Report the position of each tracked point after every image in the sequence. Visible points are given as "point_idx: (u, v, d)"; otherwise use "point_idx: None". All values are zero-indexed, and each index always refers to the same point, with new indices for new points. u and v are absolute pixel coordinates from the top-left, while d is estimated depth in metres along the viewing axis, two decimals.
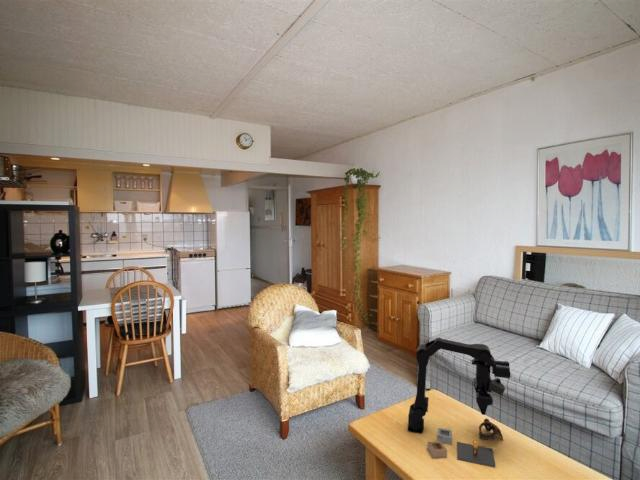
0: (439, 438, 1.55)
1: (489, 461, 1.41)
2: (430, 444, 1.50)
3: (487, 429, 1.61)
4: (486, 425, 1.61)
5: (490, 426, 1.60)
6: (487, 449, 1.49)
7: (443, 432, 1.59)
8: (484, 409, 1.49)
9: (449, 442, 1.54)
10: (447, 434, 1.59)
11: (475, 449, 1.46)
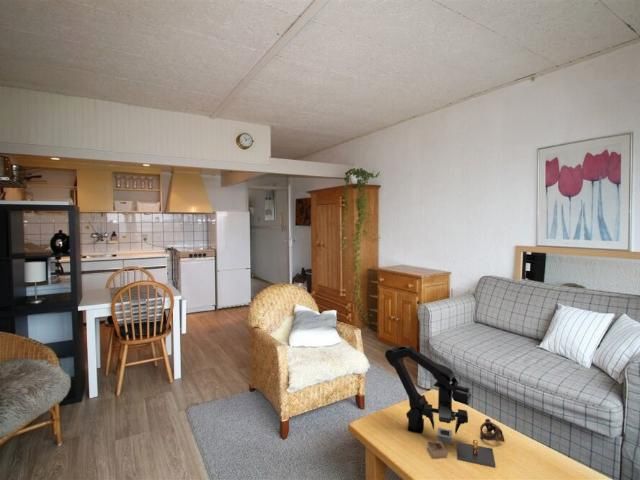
0: (439, 438, 1.55)
1: (489, 461, 1.41)
2: (430, 444, 1.50)
3: (488, 429, 1.61)
4: (487, 425, 1.60)
5: (492, 426, 1.60)
6: (487, 449, 1.49)
7: (443, 432, 1.59)
8: None
9: (449, 442, 1.54)
10: (447, 434, 1.59)
11: (475, 449, 1.46)
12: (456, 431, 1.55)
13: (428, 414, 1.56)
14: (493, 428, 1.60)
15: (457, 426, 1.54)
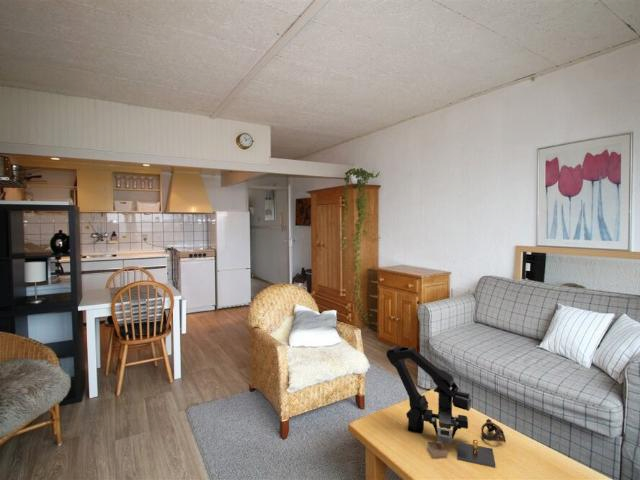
0: (439, 438, 1.55)
1: (489, 461, 1.41)
2: (430, 444, 1.50)
3: (489, 430, 1.61)
4: (488, 426, 1.60)
5: (493, 427, 1.60)
6: (487, 449, 1.49)
7: (443, 432, 1.59)
8: None
9: (449, 442, 1.54)
10: (447, 434, 1.59)
11: (475, 449, 1.46)
12: (453, 436, 1.55)
13: (428, 420, 1.56)
14: (494, 428, 1.60)
15: (454, 431, 1.55)
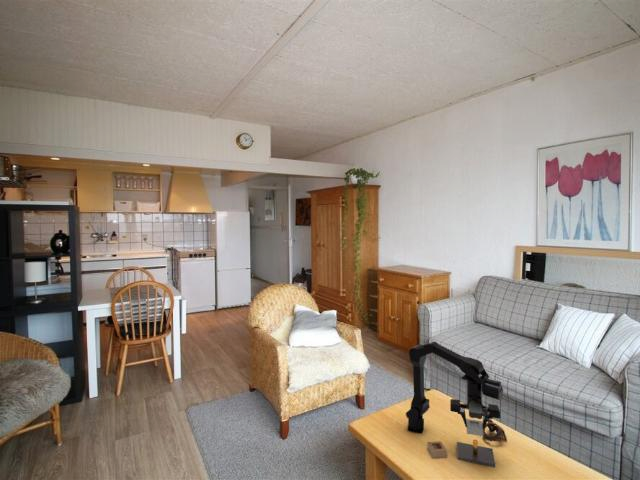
0: (469, 429, 1.44)
1: (489, 461, 1.41)
2: (430, 444, 1.50)
3: (491, 430, 1.61)
4: (490, 426, 1.60)
5: (494, 427, 1.60)
6: (487, 449, 1.49)
7: (472, 423, 1.48)
8: None
9: (480, 433, 1.43)
10: (477, 425, 1.48)
11: (475, 449, 1.46)
12: (483, 427, 1.44)
13: (456, 410, 1.45)
14: (495, 429, 1.60)
15: (484, 422, 1.44)
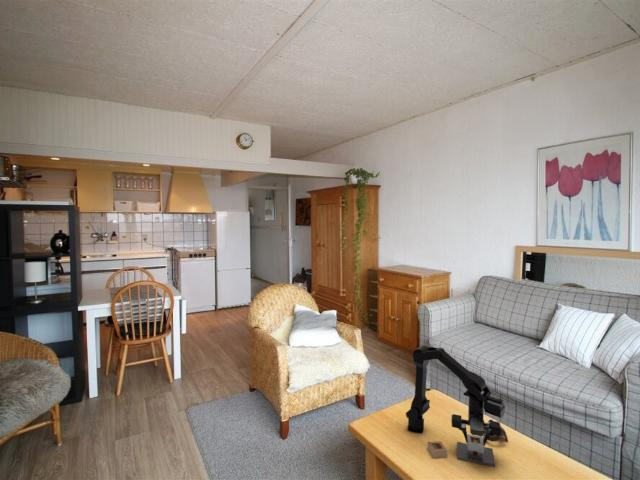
0: (469, 446, 1.44)
1: (489, 461, 1.41)
2: (430, 444, 1.50)
3: None
4: None
5: None
6: (487, 449, 1.49)
7: (473, 438, 1.48)
8: (464, 435, 1.47)
9: (481, 450, 1.43)
10: None
11: None
12: (484, 443, 1.45)
13: (458, 426, 1.45)
14: None
15: (485, 438, 1.44)
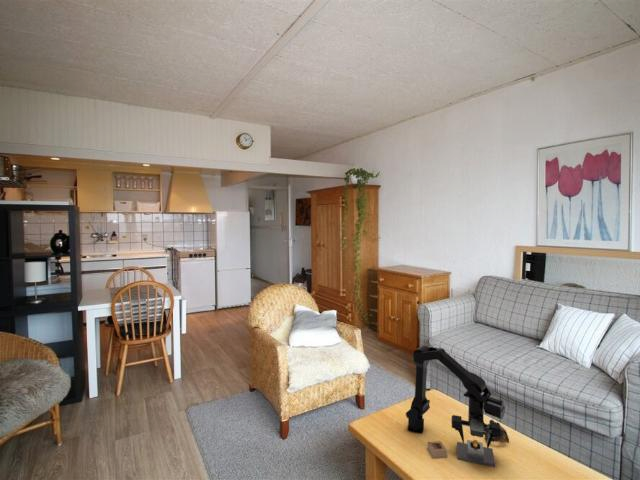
0: (469, 451, 1.45)
1: (489, 461, 1.41)
2: (430, 444, 1.50)
3: None
4: None
5: None
6: (487, 449, 1.49)
7: None
8: (460, 435, 1.48)
9: (481, 456, 1.43)
10: None
11: None
12: (488, 445, 1.44)
13: (458, 427, 1.45)
14: None
15: (489, 440, 1.43)
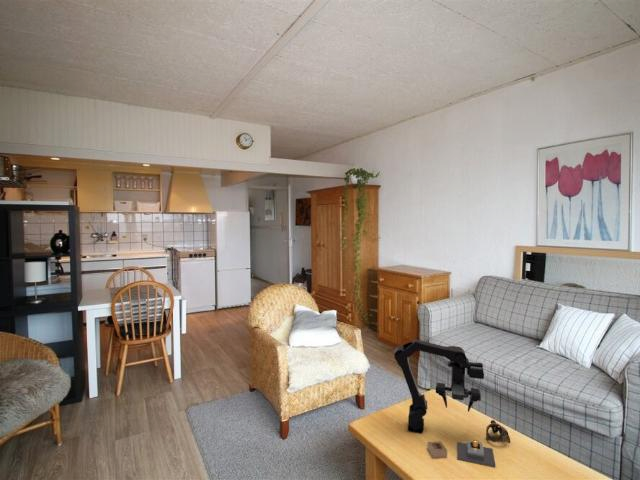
0: (469, 451, 1.45)
1: (489, 461, 1.41)
2: (430, 444, 1.50)
3: (494, 431, 1.60)
4: (493, 427, 1.59)
5: (497, 428, 1.59)
6: (487, 449, 1.49)
7: None
8: (444, 401, 1.61)
9: (481, 456, 1.43)
10: None
11: None
12: (469, 409, 1.57)
13: (441, 392, 1.59)
14: (499, 429, 1.59)
15: (470, 404, 1.56)
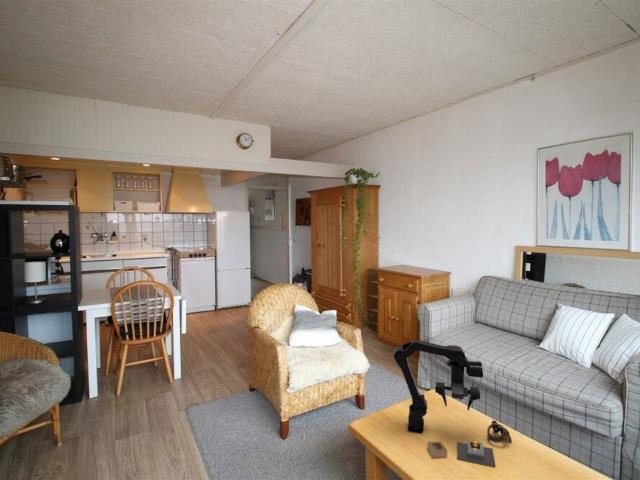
0: (469, 451, 1.45)
1: (489, 461, 1.41)
2: (430, 444, 1.50)
3: (495, 431, 1.60)
4: (494, 427, 1.59)
5: (498, 428, 1.59)
6: (487, 449, 1.49)
7: None
8: None
9: (481, 456, 1.43)
10: None
11: None
12: (468, 408, 1.58)
13: (441, 391, 1.59)
14: (500, 429, 1.59)
15: (469, 403, 1.57)
